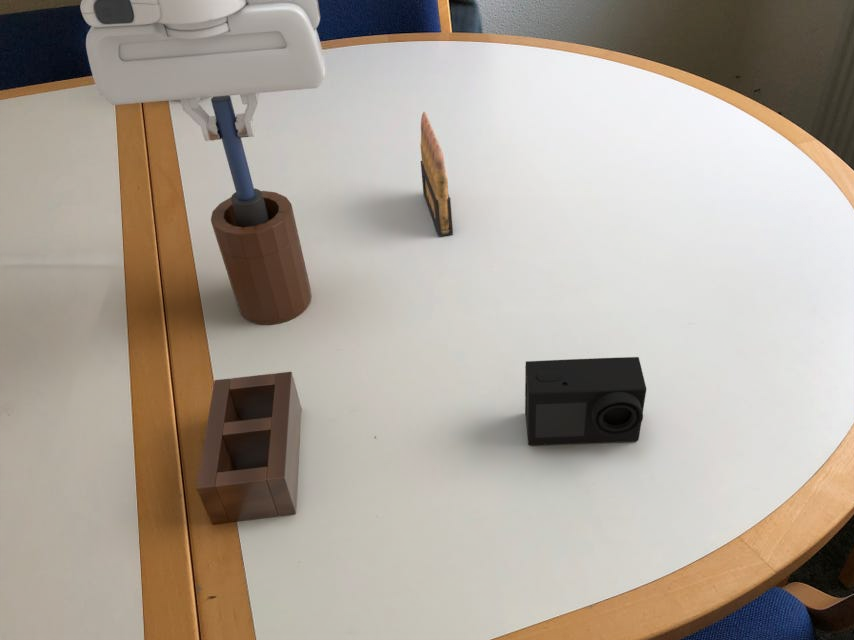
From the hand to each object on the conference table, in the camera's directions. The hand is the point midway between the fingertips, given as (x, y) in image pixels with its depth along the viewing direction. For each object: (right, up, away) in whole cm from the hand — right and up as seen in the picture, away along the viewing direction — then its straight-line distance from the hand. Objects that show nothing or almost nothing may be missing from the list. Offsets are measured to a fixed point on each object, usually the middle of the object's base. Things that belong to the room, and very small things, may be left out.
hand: (230, 136), depth 77 cm
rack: (+4, -31, -4) cm, 32 cm away
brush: (0, -9, +8) cm, 12 cm away
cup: (+1, -15, +14) cm, 21 cm away
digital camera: (+34, -29, -2) cm, 44 cm away
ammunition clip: (+19, -3, +26) cm, 32 cm away
